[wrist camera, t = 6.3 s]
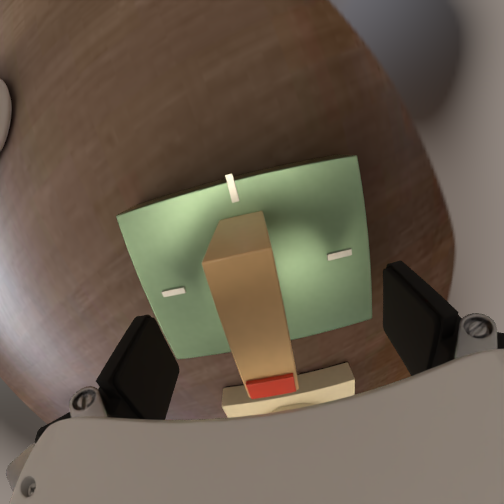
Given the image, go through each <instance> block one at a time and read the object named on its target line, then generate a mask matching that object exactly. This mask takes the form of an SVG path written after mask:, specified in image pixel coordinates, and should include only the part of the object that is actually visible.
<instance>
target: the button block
mask: <svg viewBox="0 0 504 504" xmlns="http://www.w3.org/2000/svg"><path fill="white" fill-rule="evenodd" d="M297 377H298V382H299V389H298V390H296V392H292V393H287V394H282V395H276V396H270V397H264V398H257V399H251V398H249V396H248V394H247V391H246V389H245V386H244V385H241V386H234V387H227V388H223V397H222V408H223V409H224V411H225V413H226V415H227V416H228V418H230V417H241V416H250V415H258V414H266V413H273V412H279V411H285V410H291V409H296V408H302V407H306V406H311V405H316V404H321V403H325V402H329V401H333V400H337V399H341V398H345V397H349V396H352V395H354V394H355V378H354V376H353V374H352V371H351V369H350V366H349V364H348V362H347V363H343V364H340V365H336V366H332V367H329V368H325V369H321V370H317V371H313V372H309V373H304V374H300V375H297Z"/></svg>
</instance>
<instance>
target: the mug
mask: <svg viewBox="0 0 504 504" xmlns="http://www.w3.org/2000/svg"><path fill="white" fill-rule="evenodd" d="M11 111H12V105H11V98H10V94H9V91H8V88H7V85H6V84H5V82H4V81H3V80H1V79H0V152H1V150H2V148H3V146H4V143H5V141H6V138H7V135H8V131H9V127H10V121H11Z"/></svg>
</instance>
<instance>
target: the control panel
mask: <svg viewBox="0 0 504 504" xmlns="http://www.w3.org/2000/svg"><path fill="white" fill-rule="evenodd" d="M225 177H226V179H222V180H218V181H214V182H211V183H207V184H203V185H200V186H196V187H193V188H189V189H186V190H182V191H179V192H176V193H172V194H169V195H166V196H163V197H160V198H157V199H153V200H150V201H147V202H144V203H141V204H138V205H136V206H134V207H132V208H130V209H128V210H126V211H124V212H122V213H120V214H118V215H117V216H116V218H117V221H118V224H119V227H120V229H121V232H122V235H123V238H124V241H125V244H126V246H127V249H128V252H129V254H130V257H131V260H132V262H133V265H134V267H135V270H136V272H137V275H138V277H139V280H140V282H141V284H142V287H143V289H144V292H145V294H146V296H147V298H148V301H149V303H150V305H151V307H152V310H153V312H154V314H155V316H156V318H157V320H158V322H159V325H160V327H161V329H162V331H163V333H164V335H165V337H166V339H167V341H168V343H169V345H170V347H171V349H172V351H173V352H174V354H175V356H176V358H177V359H185V358H193V357H201V356H208V355H214V354H221V353H227V352H231V349H230V346H229V344H228V341H227V338H226V335H225V332H224V330H223V327H222V324H221V321H220V318H219V315H218V312H217V309H216V306H215V303H214V300H213V297H212V294H211V291H210V288H209V285H208V282H207V279H206V276H205V273H204V270H203V266H202V261H203V258H204V256H205V254H206V251H207V249H208V246H209V244H210V241H211V239H212V237H213V234H214V232H215V230H216V227H217V225H218V223H219V221H220V220H223V219H227V218H232V217H236V216H240V215H245V214H249V213H254V212H258V211H263V214H264V218H265V222H266V226H267V230H268V234H269V238H270V242H271V246H272V250H273V255H274V260H275V265H276V269H277V274H278V279H279V284H280V289H281V294H282V299H283V304H284V309H285V314H286V319H287V324H288V329H289V334H290V340H294V339H298V338H302V337H306V336H311V335H315V334H319V333H322V332H326V331H330V330H334V329H338V328H341V327H345V326H348V325H352V324H355V323H359V322H362V321H365V320H369V319H371V318H372V288H371V266H370V252H369V239H368V229H367V220H366V211H365V203H364V196H363V189H362V182H361V176H360V170H359V164H358V159H357V156H356V155H333V156H327V157H321V158H316V159H310V160H305V161H300V162H295V163H290V164H285V165H281V166H276V167H271V168H267V169H262V170H258V171H254V172H250V173H245V174H241V175H237V176H233V173H231V174H227V175H225Z"/></svg>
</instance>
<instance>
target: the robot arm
mask: <svg viewBox="0 0 504 504" xmlns="http://www.w3.org/2000/svg"><path fill="white" fill-rule="evenodd" d="M383 328H384V331H385V333H386V334H387V336H388V338H389V339H390V341H391V342H392V344H393V346H394V347H395V349H396V351H397V352H398V354H399V356H400V357H401V359H402V361H403V362H404V364H405V366H406V367H407V369H408V371H409V372H410V374H411V377H408V378H405V379H403V380H400V381H397V382H394V383H391V384H388V385H385V386H382V387H379V388H376V389H373V390H370V391H366V392H363V393H360V394H356V395H352V396H349V397H345V398H341V399H337V400H333V401H329V402H325V403H321V404H316V405H311V406H306V407H302V408H296V409H291V410H285V411H279V412H273V413H266V414H258V415H250V416H241V417H230V418H217V419H199V420H165V418H166V414H167V411H168V407H169V404H170V401H171V397H172V394H173V391H174V387H175V384H176V381H177V378H178V374H179V366H178V363H177V362H176V360H175V358H174V356H173V354H172V352H171V350H170V348H169V346H168V344H167V342H166V340H165V338H164V336H163V334H162V332H161V330H160V328H159V326H158V324H157V322H156V320H155V319H154V318H152V317H151V316H150V315H144V316H137V317H136V318H135V319H134V320H133V322H132V323H131V325H130V326H129V328H128V330H127V331H126V333H125V334H124V336H123V337H122V339H121V341H120V342H119V344H118V345H117V347H116V349H115V350H114V352H113V353H112V355H111V357H110V358H109V360H108V362H107V363H106V365H105V367H104V368H103V370H102V372H101V373H100V375H99V377H98V378H97V380H96V382H97V383H98V385H99V386H100V387H99V389H97V388H95V387H92V386H89V387H84V388H82V389H80V390H79V391H77V392H76V393H75V394H74V395H73V396H72V398H71V400H70V402H69V408H70V412H69V413H67V414H65V415H64V416H62V417H60V418H58V419H56V420H55V421H53V422H51V423H49V424H47V425H45V426H44V427H41V428H40V429H39V430H38V432H37V435H36V439H35V443H36V445H34V444H31V445H30V446H29V447H28V448H27V449H26V450H25V451H23V452H22V453H21V454H20V455H19V456H18V457H17V458H15V459H14V460H13V461H12V462H11V463H10V464H9V465H8V468H7V470H6V476H7V479H8V481H9V484H10V486H11V488H12V490H13V494H12V497H11V500H10V502H9V504H504V333H499V332H497V328H496V324H495V322H494V321H493V320H492V319H491V318H490V317H488V316H486V315H484V314H479V313H475V314H474V313H473V314H469V315H467V316H465V317H463V319H462V318H461V317H460V316H459V315H458V312H457V311H456V310H455V309H454V308H453V307H452V306H451V305H450V304H449V303H448V302H447V301H446V300H445V299H444V298H443V297H442V296H441V295H440V294H438V293H437V292H436V291H435V290H434V289H433V288H432V287H431V286H430V285H429V284H427V283H426V282H425V281H424V280H423V279H422V278H421V277H419V276H418V275H417V274H416V273H415V272H414V271H413V270H411V269H410V268H409V267H408V266H407V265H406V264H404V263H403V262H402V261H397V262H393V263H390V264H387V267H386V268H385V269H384V270H383Z"/></svg>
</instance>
